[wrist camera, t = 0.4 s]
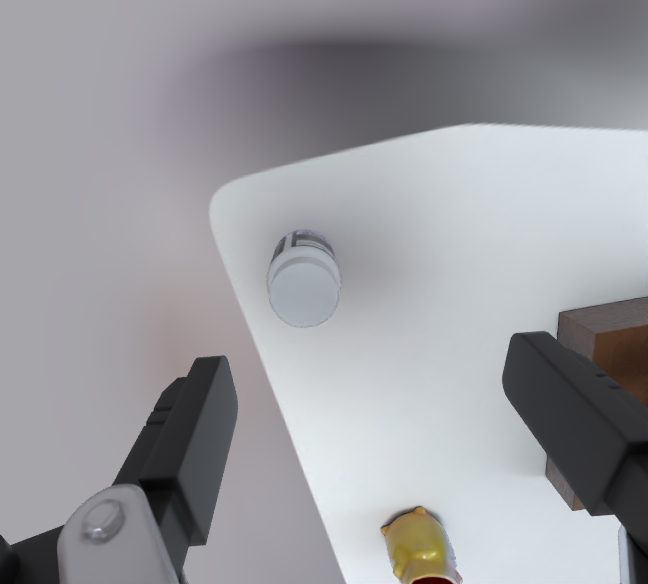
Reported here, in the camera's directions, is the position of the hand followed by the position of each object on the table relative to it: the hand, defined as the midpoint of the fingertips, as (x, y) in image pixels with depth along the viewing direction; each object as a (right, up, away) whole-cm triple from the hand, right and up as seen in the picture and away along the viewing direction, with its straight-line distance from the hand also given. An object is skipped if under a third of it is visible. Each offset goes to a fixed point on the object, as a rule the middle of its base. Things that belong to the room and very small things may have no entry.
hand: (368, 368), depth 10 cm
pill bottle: (-3, +5, +17) cm, 18 cm away
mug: (+10, -27, +30) cm, 42 cm away
